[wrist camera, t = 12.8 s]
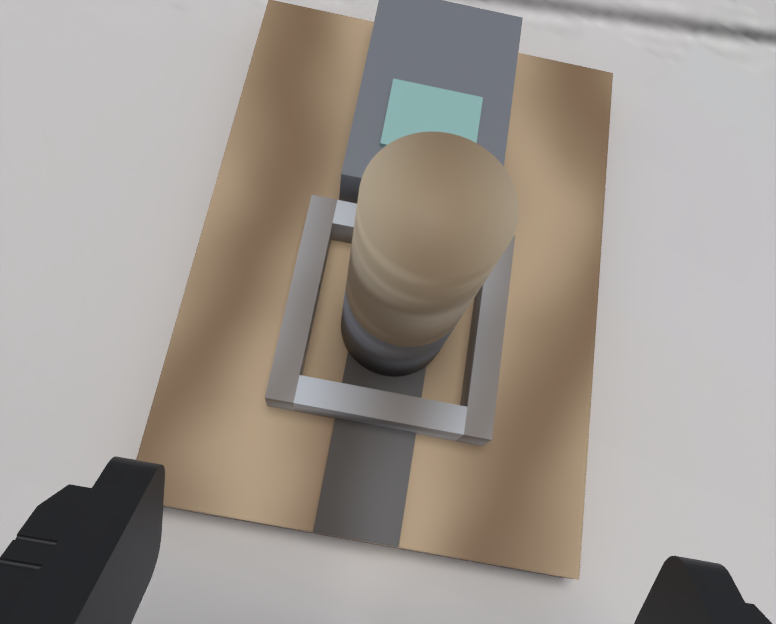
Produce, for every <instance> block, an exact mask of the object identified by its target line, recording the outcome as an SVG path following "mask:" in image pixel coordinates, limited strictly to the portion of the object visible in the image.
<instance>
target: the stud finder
mask: <svg viewBox="0 0 776 624" xmlns="http://www.w3.org/2000/svg"><path fill="white" fill-rule="evenodd" d="M521 26H522V18H521V17H517V16H512V15H508V14H503V13H498V12H494V11H489V10H484V9H480V8H475V7H471V6H466V5H461V4H457V3H452V2H447V1H443V0H379V3H378V7H377V12H376V16H375V21H374V26H373V30H372V35H371V39H370V44H369V49H368V53H367V58H366V62H365V67H364V72H363V76H362V81H361V85H360V90H359V94H358V99H357V104H356V108H355V113H354V117H353V122H352V127H351V131H350V136H349V140H348V145H347V150H346V154H345V159H344V163H343V168H342V172H341V182H340V194H339V200H341V201H346V202H351V203H356V204H357V201H358V194H359V186H360V182H361V179H362V176H363V174H364V171H365V169H366V167H367V166H368V164H369V163H370V161H371V160H372V158H373V157H374V156H375V155H376V154H377V153H378V152H379V151H380V150H381V149H382V148H384V147H385V146H386V145H388V144H389V143H391V142H393V141H395V140H397V139H399V138H401V137H404V136H407V135H410V134H414V133H419V132H430V131H431V132H445V133H451V134H455V135H459V136H462V137H464V138H467V139H469V140H471V141H473V142H475V143H477V144H479V145H481V146H482V147H483V148H485V149H486V150H488V151H489V152H490V153H491V154H492V155H494V156H495V157H496V158H497V159H498V160H499V162H500V163H501V164H502V165H503V166H504V161H505V153H506V145H507V137H508V130H509V122H510V114H511V106H512V98H513V90H514V82H515V74H516V66H517V58H518V50H519V42H520V34H521Z"/></svg>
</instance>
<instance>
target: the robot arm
mask: <svg viewBox="0 0 776 624" xmlns="http://www.w3.org/2000/svg"><path fill="white" fill-rule="evenodd" d="M164 486H165V467H164V465H162V464H156V463H150V462H144V461H139V460H133V459H127V458H122V457H113V458H112V459H111V460H110V461H109V463H108V464H107V465H106V467H105V469H104V470H103V472H102V473H101V475H100V476H99V478H98V479H97V481H96V483H95V484H94V486H93V487H92V488H87V487H81V486H75V485H68V486H66V487H65V488H63V489H62V490H60V491H59V492H57V493H56V494H54V495H53V496H51V497H50V498H48V499H47V500H46V501H44V502H43V503H41V504H40V505H38V506H37V507H36V509H35V510H34V512H33V513H32V514H31V516H30V517H29V518H28V520H27V521H26V523H25V524H24V525H23V527H22V528H21V529H20V531H19V532H18V534H17V537H16V539H15V540H13V541H12V542H11V543H10V545H9V546H8V547H7V549H6V550H5V552H4V553H3V554H2V556H1V557H0V624H131V622H132V620H133V618H134V616H135V613H136V611H137V609H138V607H139V604H140V602H141V600H142V598H143V595H144V593H145V591H146V589H147V587H148V584H149V582H150V580H151V577H152V574H153V571H154V568H155V565H156V561H157V558H158V553H159V548H160V543H161V532H162V516H163V501H164ZM634 624H772V623H771V622H770V621H769V620H768V619H767V618H766V617H765V616H764V614H763V613H762V612H761V611H760V610H759V609H758V608H757V607H756V606H755V605H754V604H749V603H745V602H744V600H743V598H742V596H741V594H740V592H739V590H738V588H737V587H736V585H735V583H734V581H733V579H732V577H731V575H730V574H729V572H728V570H727V569H726V568H725V567H724V566H722V565H721V564H718V563H712V562H706V561H701V560H695V559H689V558H684V557H678V556H671V557H669V558H668V559H667V560H666V561H665V562H664V564H663V566H662V568H661V570H660V572H659V574H658V576H657V578H656V580H655V582H654V584H653V586H652V588H651V590H650V592H649V594H648V596H647V598H646V600H645V602H644V604H643V606H642V608H641V610H640V612H639V614H638V616H637V618H636V621H635V623H634Z"/></svg>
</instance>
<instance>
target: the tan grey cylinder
mask: <svg viewBox="0 0 776 624" xmlns="http://www.w3.org/2000/svg"><path fill="white" fill-rule="evenodd" d="M518 218H519V203H518V197H517V192H516V189H515V186H514V184H513V181H512V179H511V177H510V176H509V174H508V172H507V171H506V169H505V168H504V166H503V165H502V164H501V163H500V162H499V160H498V159H497V158H496V157H495V156H494V155H492V154H491V153H490V152H489V151H488V150H486V149H485V148H483V147H482V146H481V145H479V144H477V143H475V142H473V141H471V140H469V139H467V138H464V137H462V136H459V135H455V134H451V133H445V132H431V131H430V132H419V133H414V134H410V135H407V136H404V137H401V138H399V139H397V140H395V141H393V142H391V143H389V144H388V145H386V146H385V147H384V148H382V149H381V150H380V151H379V152H378V153H377V154H376V155H375V156H374V157H373V158H372V160H371V161H370V163H369V164H368V166H367V167H366V169H365V171H364V174H363V176H362V179H361V182H360V186H359V194H358V201H357V208H356V216H355V223H354V230H353V237H352V245H351V252H350V259H349V266H348V274H347V281H346V288H345V295H344V303H343V310H342V317H341V333H342V337H343V341H344V343H345V346H346V348H347V350H348V351H349V353H350V354H351V355H352V357H353V358H354V359H355V360H356V361H357V362H358V363H359V364H360V365H362V366H363V367H364V368H366V369H368V370H370V371H371V372H374V373H377V374H380V375H384V376H391V377H399V376H406V375H409V374H413V373H415V372H417V371H419V370H421V369H423V368H424V367H426V366H427V365H428V364H429V363H430V362H431V361H432V360H433V359H434V358H435V357H436V355H437V354H438V352H439V351H440V349H441V348H442V346H443V345H444V343H445V342H446V340H447V339H448V337H449V335H450V334H451V332H452V331H453V329H454V328H455V326H456V325H457V323H458V322H459V320H460V319H461V317H462V316H463V314H464V313H465V311H466V310H467V308H468V307H469V305H470V303H471V302H472V300H473V299H474V297H475V296H476V294H477V293H478V291H479V290H480V288H481V287H482V285H483V284H484V282H485V281H486V279H487V278H488V276H489V274H490V273H491V271H492V270H493V268H494V267H495V265H496V264H497V262H498V261H499V259H500V258H501V256H502V255H503V253H504V252H505V250H506V249H507V247H508V246H509V244H510V242H511V240H512V238H513V236H514V234H515V231H516V228H517V224H518Z"/></svg>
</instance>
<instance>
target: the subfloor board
mask: <svg viewBox="0 0 776 624" xmlns="http://www.w3.org/2000/svg"><path fill="white" fill-rule="evenodd" d="M373 26H374V22H372V21H367V20H362V19H358V18H353V17H348V16H344V15H339V14H334V13H330V12H325V11H320V10H316V9H311V8H306V7H301V6H297V5H292V4H287V3H283V2H278V1H273V0H268V4H267V7H266V11H265V14H264V18H263V21H262V25H261V28H260V32H259V35H258V39H257V42H256V45H255V49H254V52H253V56H252V59H251V63H250V66H249V70H248V73H247V77H246V80H245V84H244V87H243V91H242V94H241V98H240V101H239V105H238V108H237V111H236V115H235V118H234V122H233V125H232V129H231V132H230V136H229V139H228V143H227V146H226V150H225V153H224V157H223V160H222V164H221V167H220V171H219V174H218V177H217V181H216V184H215V188H214V191H213V195H212V198H211V202H210V205H209V209H208V212H207V216H206V219H205V223H204V226H203V230H202V233H201V237H200V240H199V243H198V247H197V250H196V254H195V257H194V261H193V264H192V268H191V271H190V275H189V278H188V282H187V285H186V289H185V292H184V296H183V299H182V303H181V306H180V309H179V313H178V316H177V320H176V323H175V327H174V330H173V334H172V337H171V341H170V344H169V348H168V351H167V355H166V358H165V362H164V365H163V369H162V372H161V375H160V379H159V382H158V386H157V389H156V393H155V396H154V400H153V403H152V407H151V410H150V414H149V417H148V421H147V424H146V428H145V431H144V434H143V438H142V441H141V445H140V448H139V452H138V455H137V459H136V460H139V461H144V462H150V463H156V464H162V465H164V467H165V486H164V501H163V506H164V507H170V508H176V509H181V510H187V511H192V512H198V513H204V514H209V515H215V516H220V517H226V518H232V519H237V520H243V521H248V522H254V523H260V524H265V525H271V526H277V527H282V528H288V529H293V530H299V531H305V532H310V533H316V534H321V535H327V536H333V537H338V538H344V539H349V540H355V541H361V542H366V543H372V544H377V545H383V546H389V547H394V548H400V549H405V550H411V551H417V552H422V553H428V554H433V555H439V556H445V557H450V558H456V559H462V560H467V561H473V562H478V563H484V564H490V565H495V566H501V567H506V568H512V569H518V570H523V571H529V572H534V573H540V574H546V575H551V576H557V577H562V578H570V579H579V573H580V558H581V543H582V528H583V513H584V498H585V483H586V468H587V453H588V438H589V423H590V408H591V393H592V378H593V363H594V348H595V333H596V318H597V303H598V288H599V273H600V258H601V243H602V228H603V213H604V198H605V183H606V168H607V153H608V138H609V123H610V108H611V93H612V78H613V73H610V72H605V71H601V70H596V69H591V68H587V67H582V66H577V65H572V64H568V63H563V62H558V61H554V60H549V59H544V58H540V57H535V56H530V55H526V54H521V53H518V58H517V66H516V74H515V82H514V90H513V98H512V106H511V114H510V122H509V130H508V137H507V145H506V153H505V161H504V168H505V169H506V171H507V172H508V174H509V176H510V177H511V179H512V181H513V184H514V186H515V189H516V192H517V197H518V203H519V218H518V224H517V228H516V231H515V234H514V236H513V238H512V240H511V242H510V244H509V246H508V247H507V249H506V250H505V252H504V253H503V255H502V256H501V258H500V259H499V261H498V262H497V264H496V265H495V267H494V268H493V270H492V271H491V273H490V274H489V276H488V278H487V279H486V281H485V282H484V284H483V285H482V287H481V288H480V290H479V291H478V293H477V294H476V296H475V297H474V299H473V300H472V302H471V303H470V305H469V307H468V308H467V310H466V311H465V313H464V314H463V316H462V317H461V319H460V320H459V322H458V323H457V325H456V326H455V328H454V329H453V331H452V332H451V334H450V335H449V337H448V339H447V340H446V342H445V343H444V345H443V346H442V348H441V349H440V351H439V352H438V354H437V355H436V357H435V358H434V359H433V360H432V361H431V362H430V363H429V364H428V365H427V366H426V367H424V368H423V369H421V370H419V371H417V372H415V373H413V374H409V375H406V376H399V377H391V376H384V375H380V374H377V373H374V372H371V371H370V370H368V369H366V368H364V367H363V366H362V365H360V364H359V363H358V362H357V361H356V360H355V359H354V358H353V357H352V355H351V354H350V353H349V351H348V350H347V348H346V346H345V343H344V341H343V337H342V333H341V317H342V310H343V303H344V295H345V288H346V281H347V274H348V266H349V259H350V252H351V245H352V237H353V230H354V223H355V216H356V208H357V204H356V203H351V202H346V201H341V200H339V194H340V182H341V172H342V168H343V163H344V159H345V154H346V150H347V145H348V140H349V136H350V131H351V127H352V122H353V117H354V113H355V108H356V104H357V99H358V94H359V90H360V85H361V81H362V76H363V72H364V67H365V62H366V58H367V53H368V49H369V44H370V39H371V35H372V30H373Z"/></svg>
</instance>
